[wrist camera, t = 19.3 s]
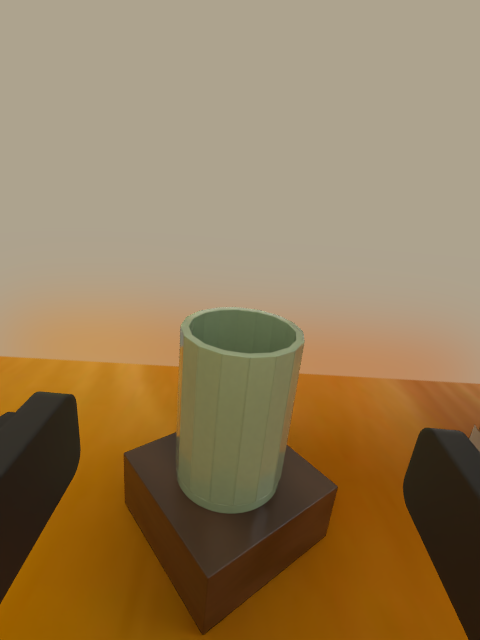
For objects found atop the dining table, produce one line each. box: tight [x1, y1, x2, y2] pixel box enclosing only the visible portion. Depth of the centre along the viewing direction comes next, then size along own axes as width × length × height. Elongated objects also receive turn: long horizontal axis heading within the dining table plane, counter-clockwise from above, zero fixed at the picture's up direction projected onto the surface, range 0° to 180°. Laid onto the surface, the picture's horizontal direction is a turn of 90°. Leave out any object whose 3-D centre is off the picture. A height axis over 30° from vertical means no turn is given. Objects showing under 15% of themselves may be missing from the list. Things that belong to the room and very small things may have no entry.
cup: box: [176, 307, 304, 514], centre depth 20 cm, size 6×6×9 cm
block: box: [124, 432, 338, 634], centre depth 22 cm, size 9×9×4 cm
